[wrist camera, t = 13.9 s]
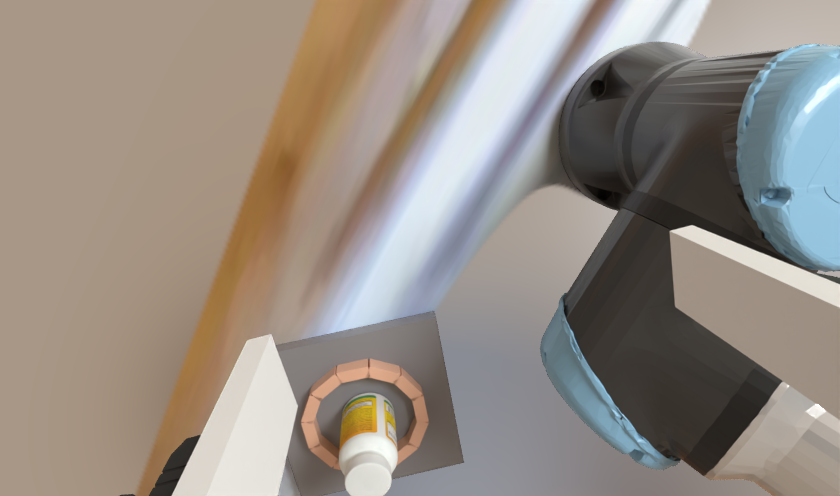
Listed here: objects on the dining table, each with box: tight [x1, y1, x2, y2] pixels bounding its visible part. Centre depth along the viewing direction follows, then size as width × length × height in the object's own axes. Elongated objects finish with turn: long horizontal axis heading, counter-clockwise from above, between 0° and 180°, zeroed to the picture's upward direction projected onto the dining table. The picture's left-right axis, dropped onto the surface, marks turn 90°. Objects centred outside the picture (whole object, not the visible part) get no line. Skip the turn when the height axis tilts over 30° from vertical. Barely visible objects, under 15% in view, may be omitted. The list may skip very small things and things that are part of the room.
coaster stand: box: [276, 311, 464, 496], centre depth 51 cm, size 18×18×3 cm
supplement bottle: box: [339, 393, 398, 496], centre depth 46 cm, size 5×5×10 cm
